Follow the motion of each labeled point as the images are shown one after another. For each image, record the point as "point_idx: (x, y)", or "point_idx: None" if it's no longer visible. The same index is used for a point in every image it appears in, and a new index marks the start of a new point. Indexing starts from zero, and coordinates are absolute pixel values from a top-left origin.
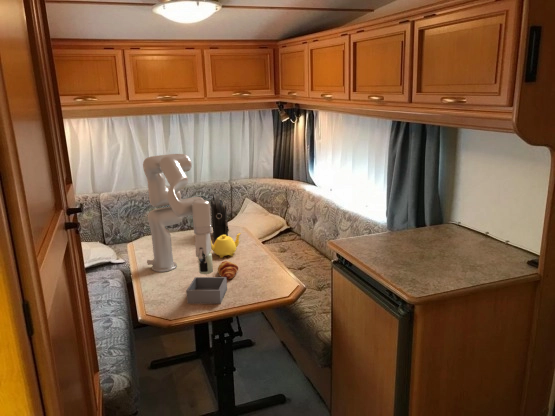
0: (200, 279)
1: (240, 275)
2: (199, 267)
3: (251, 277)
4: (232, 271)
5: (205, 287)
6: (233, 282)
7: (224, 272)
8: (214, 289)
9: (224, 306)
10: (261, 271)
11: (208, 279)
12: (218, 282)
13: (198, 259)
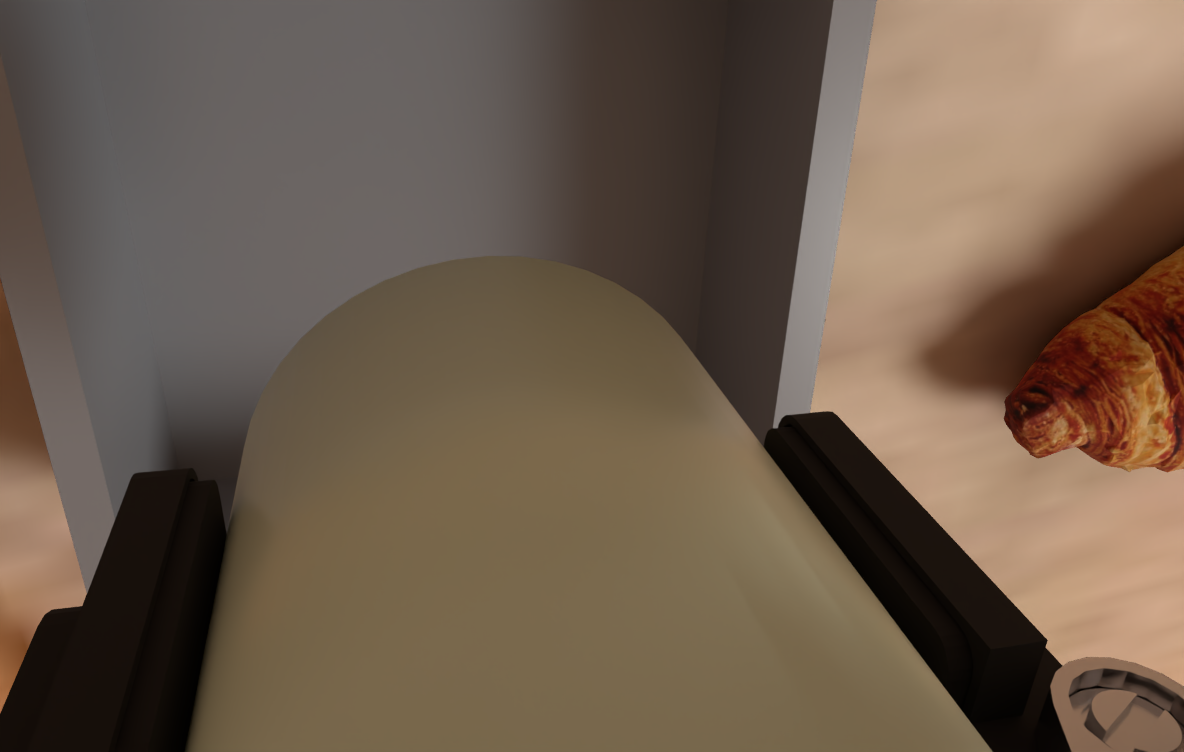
0: (810, 26)
1: (1143, 487)
2: (305, 448)
3: (1037, 626)
4: (1177, 464)
5: (724, 99)
6: (932, 460)
7: (1178, 356)
8: (638, 286)
9: (68, 565)
10: (1176, 678)
11: (781, 226)
12: (733, 391)
13: (339, 750)
